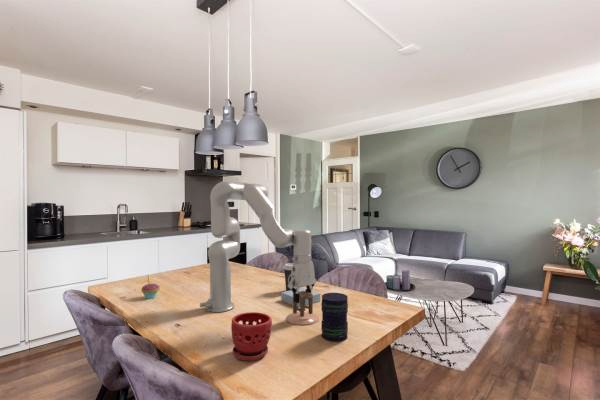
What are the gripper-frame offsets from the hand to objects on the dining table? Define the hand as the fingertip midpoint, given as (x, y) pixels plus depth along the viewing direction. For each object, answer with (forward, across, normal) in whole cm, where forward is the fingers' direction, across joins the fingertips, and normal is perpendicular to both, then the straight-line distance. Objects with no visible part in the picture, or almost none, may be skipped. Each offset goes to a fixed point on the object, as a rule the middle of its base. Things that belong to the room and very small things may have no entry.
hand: (302, 300), depth 136 cm
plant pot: (+8, -33, -13) cm, 36 cm away
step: (+8, +15, +19) cm, 25 cm away
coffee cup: (+8, +22, +35) cm, 42 cm away
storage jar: (+8, -2, -21) cm, 23 cm away
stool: (+6, 0, 0) cm, 6 cm away
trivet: (+8, 0, 0) cm, 8 cm away
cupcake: (+8, -42, +73) cm, 85 cm away
